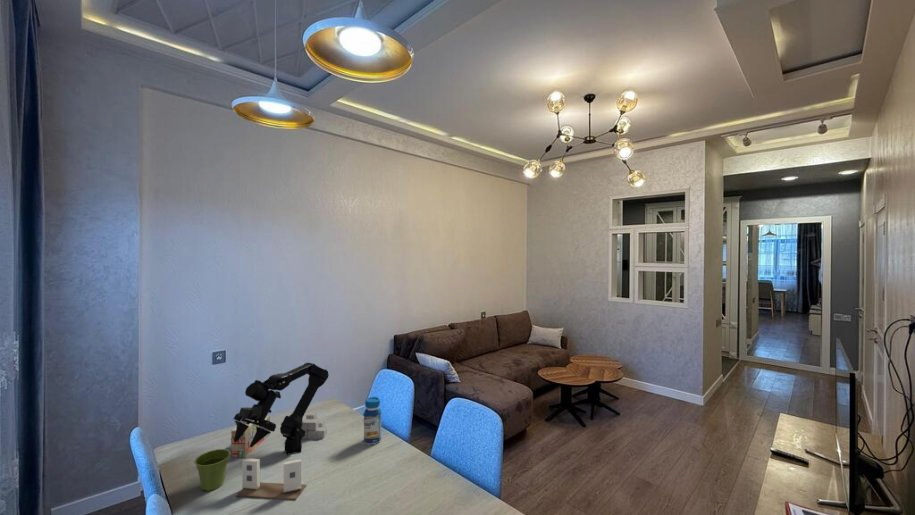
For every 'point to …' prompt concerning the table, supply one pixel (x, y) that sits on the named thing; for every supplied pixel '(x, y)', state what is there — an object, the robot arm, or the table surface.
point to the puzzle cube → (313, 426)
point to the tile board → (271, 492)
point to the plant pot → (212, 468)
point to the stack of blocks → (245, 440)
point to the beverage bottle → (372, 421)
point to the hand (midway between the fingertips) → (242, 444)
